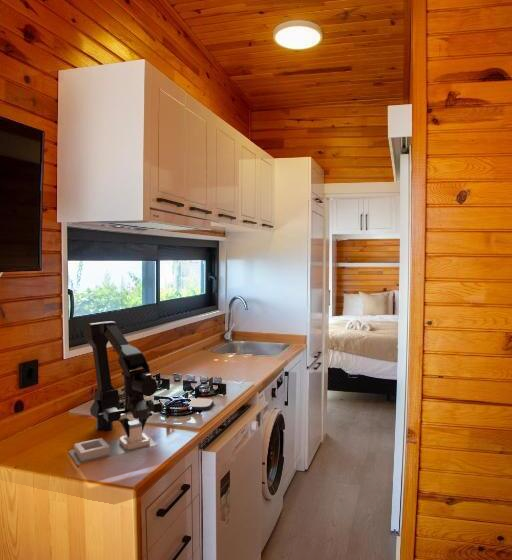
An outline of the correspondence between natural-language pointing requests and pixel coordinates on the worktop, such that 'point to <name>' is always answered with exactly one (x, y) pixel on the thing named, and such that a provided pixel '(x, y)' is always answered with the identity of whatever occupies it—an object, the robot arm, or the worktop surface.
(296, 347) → the worktop surface
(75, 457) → the panel
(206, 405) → the external hard drive
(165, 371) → the worktop surface
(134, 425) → the plug
